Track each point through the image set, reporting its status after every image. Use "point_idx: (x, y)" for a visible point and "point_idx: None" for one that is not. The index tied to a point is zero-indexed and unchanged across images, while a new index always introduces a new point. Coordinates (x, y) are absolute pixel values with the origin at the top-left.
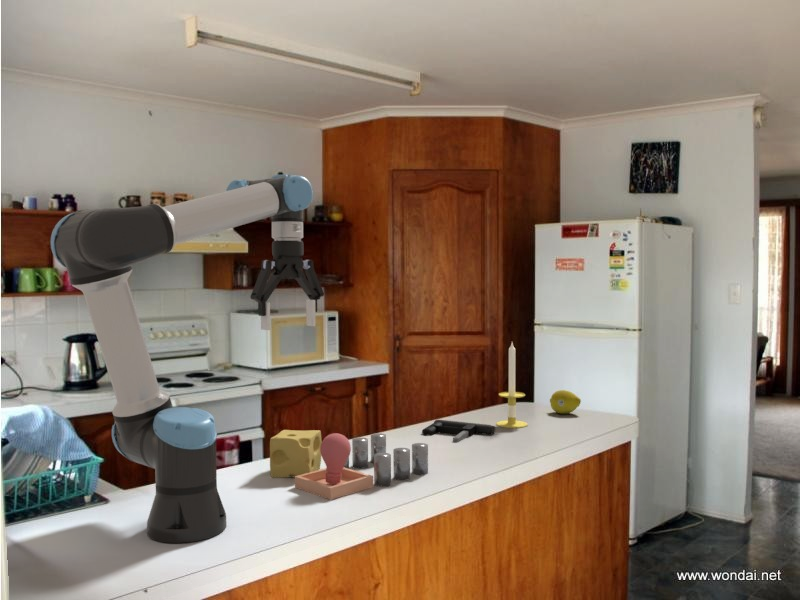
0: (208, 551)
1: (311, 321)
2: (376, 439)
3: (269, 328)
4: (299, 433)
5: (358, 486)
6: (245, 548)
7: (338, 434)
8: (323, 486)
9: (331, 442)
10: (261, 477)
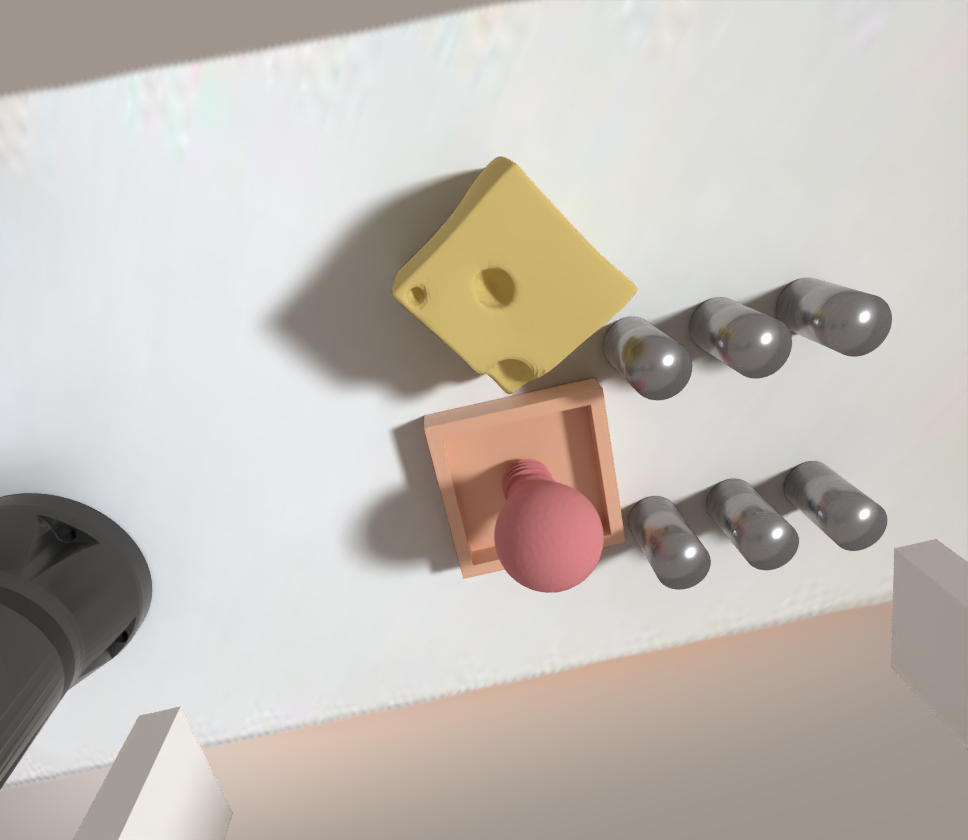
0: (84, 708)
1: (936, 684)
2: (829, 344)
3: (215, 833)
4: (537, 286)
5: None
6: None
7: (565, 574)
8: (456, 551)
9: (521, 581)
10: (370, 251)
